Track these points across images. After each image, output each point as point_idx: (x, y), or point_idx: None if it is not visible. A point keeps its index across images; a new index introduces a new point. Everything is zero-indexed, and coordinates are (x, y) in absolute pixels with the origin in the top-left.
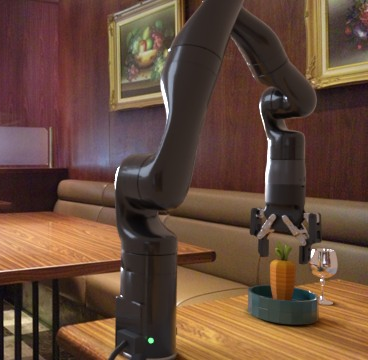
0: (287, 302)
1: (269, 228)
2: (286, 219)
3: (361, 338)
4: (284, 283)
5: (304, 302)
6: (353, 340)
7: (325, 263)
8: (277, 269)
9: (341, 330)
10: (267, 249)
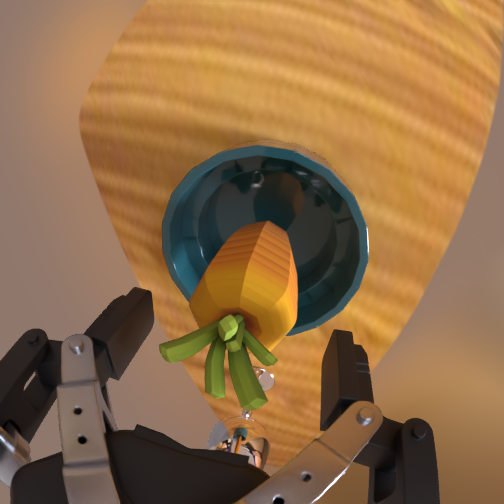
0: (203, 162)
1: (285, 468)
2: (84, 488)
3: (104, 201)
4: (231, 241)
5: (170, 199)
6: (105, 177)
7: (220, 438)
8: (244, 257)
9: (142, 222)
10: (324, 380)
